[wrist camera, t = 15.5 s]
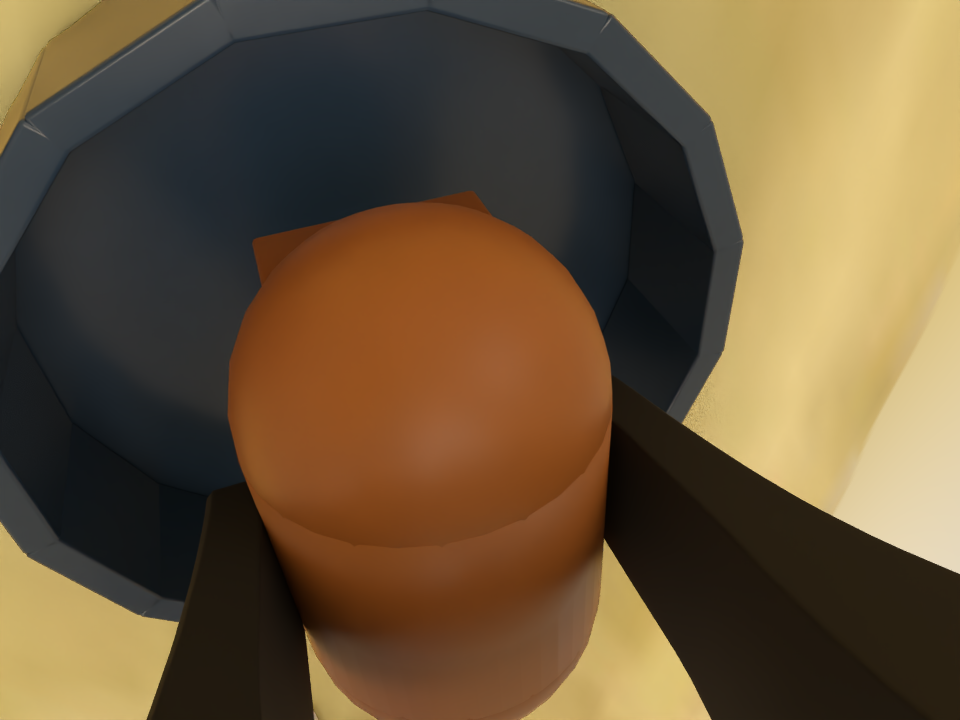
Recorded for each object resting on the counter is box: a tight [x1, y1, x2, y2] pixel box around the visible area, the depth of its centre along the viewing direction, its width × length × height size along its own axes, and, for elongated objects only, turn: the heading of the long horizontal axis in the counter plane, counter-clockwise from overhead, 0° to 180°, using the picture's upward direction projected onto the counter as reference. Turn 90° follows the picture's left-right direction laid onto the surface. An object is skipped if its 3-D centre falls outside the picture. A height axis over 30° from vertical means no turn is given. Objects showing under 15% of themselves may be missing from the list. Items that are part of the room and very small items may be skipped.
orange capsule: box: [228, 191, 612, 720], centre depth 11 cm, size 9×5×5 cm, turn 4°
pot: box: [0, 0, 744, 630], centre depth 14 cm, size 13×13×3 cm
